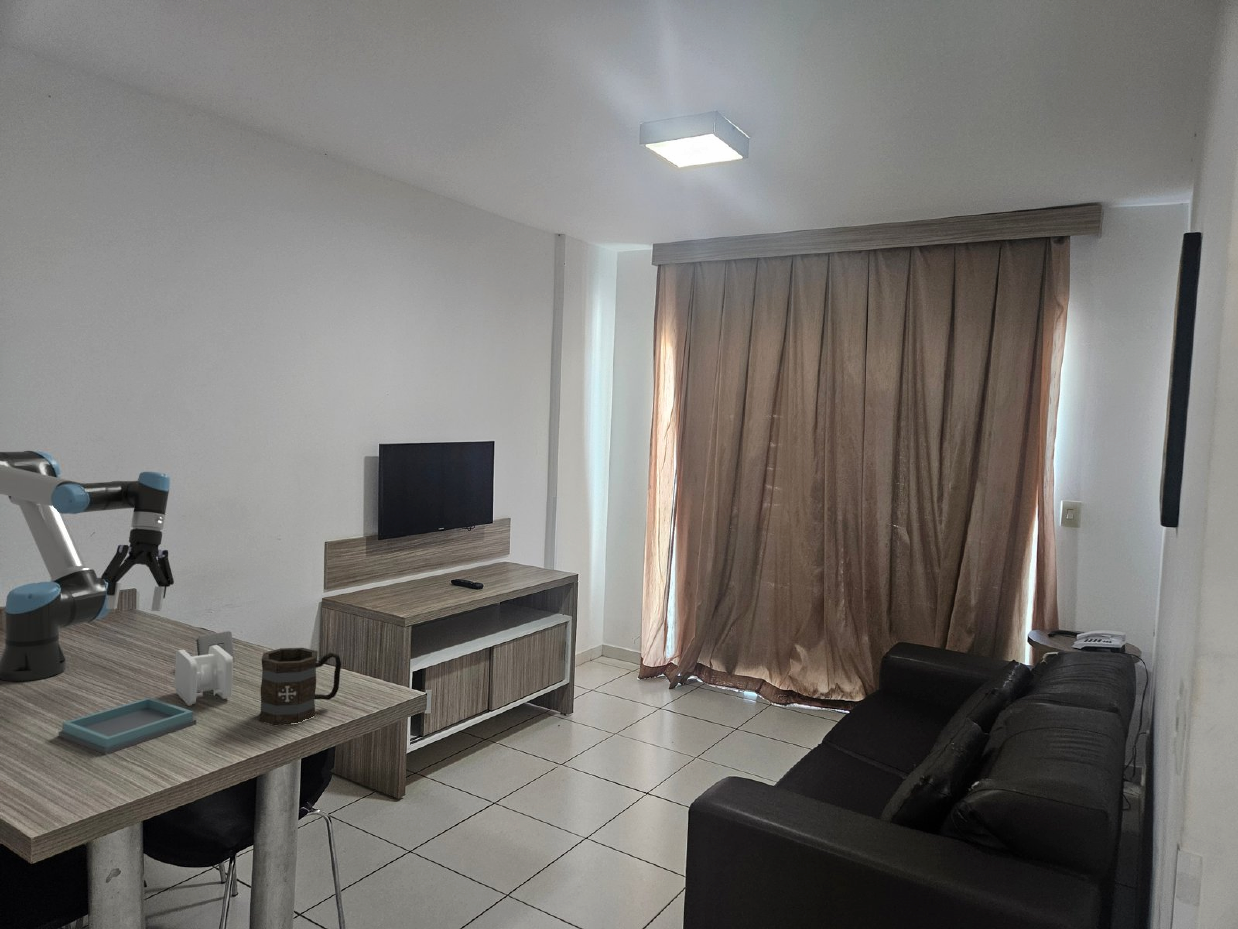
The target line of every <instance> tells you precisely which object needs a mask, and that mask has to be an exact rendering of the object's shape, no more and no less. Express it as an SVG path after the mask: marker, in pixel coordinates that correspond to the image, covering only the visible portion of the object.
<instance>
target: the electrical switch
mask: <svg viewBox="0 0 1238 929" xmlns="http://www.w3.org/2000/svg"><path fill="white" fill-rule="evenodd" d="M195 641H196V647H197V648H196V649H197V656H200V655H207V654H208V650H209V647H210V646H213V645H218V646H219V647H221V648H222V649H223V650H224V651H226V652H227V653H228V654H229V655H230V656H231V657H233V658H232V660H233V663H234V662H235V654H234V643H233V642H234V641H233V634H232V631H230V630H227V631H222V632H215V633H214V632H213V633H208V634H203V635H202V634H201V635H199V636H198V637H197V638H196V640H195Z"/></svg>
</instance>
